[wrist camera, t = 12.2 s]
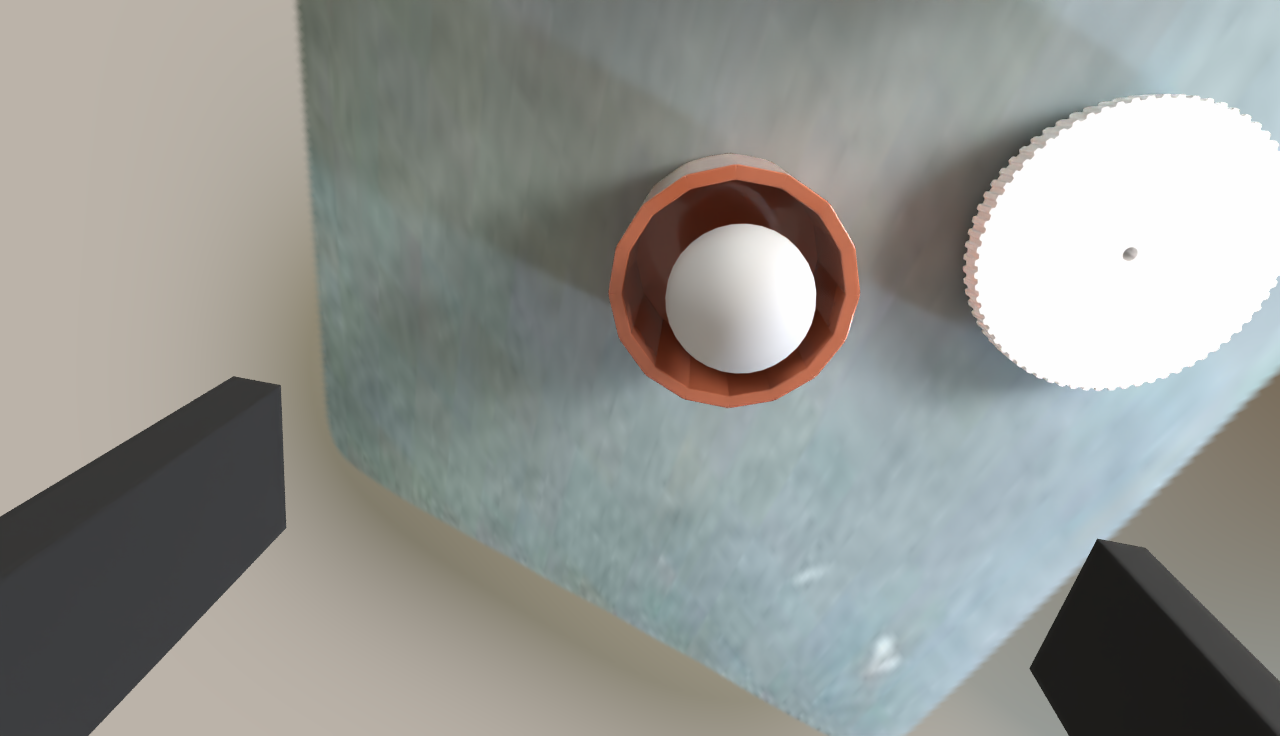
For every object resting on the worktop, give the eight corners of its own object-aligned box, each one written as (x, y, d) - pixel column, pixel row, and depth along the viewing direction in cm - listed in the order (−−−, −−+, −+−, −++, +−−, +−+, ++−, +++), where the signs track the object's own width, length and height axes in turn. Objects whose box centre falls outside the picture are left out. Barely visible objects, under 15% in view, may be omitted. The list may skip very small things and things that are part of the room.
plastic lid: (1178, 391, 36) (1211, 411, 34) (921, 349, 37) (936, 366, 34) (1310, 119, 31) (1360, 121, 29) (1011, 73, 32) (1035, 70, 29)
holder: (590, 229, 36) (561, 260, 28) (758, 110, 33) (775, 111, 26) (696, 380, 39) (696, 445, 31) (861, 282, 36) (903, 328, 28)
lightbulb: (797, 202, 34) (840, 243, 24) (783, 318, 36) (816, 402, 26) (676, 196, 34) (666, 234, 24) (669, 311, 36) (657, 391, 26)
